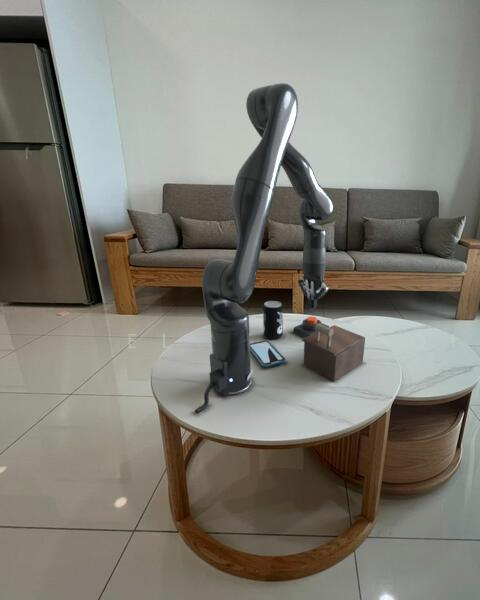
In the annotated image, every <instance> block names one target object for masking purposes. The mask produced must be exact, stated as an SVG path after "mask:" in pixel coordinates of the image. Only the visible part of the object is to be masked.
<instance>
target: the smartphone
mask: <svg viewBox="0 0 480 600" xmlns="http://www.w3.org/2000/svg"><path fill="white" fill-rule="evenodd" d="M250 353H251V354H252V355H253V356H254V358H255V359H256V360H257V361H258V363H259V364H260V365H261V366H262V367H263V368H269V367H274V366H277V365H280V364H284V363H286V361H287V360H286V357H285V356H284V355H282V353H281V352H280V351H278V349H277V348H276V347H275V346H274V345H273V344H272V343H271V342H270V341H269V340H268V339H267V340H260V341H256V342H250Z"/></svg>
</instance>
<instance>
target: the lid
mask: <svg viewBox="0 0 480 600" xmlns="http://www.w3.org/2000/svg"><path fill="white" fill-rule="evenodd" d="M315 330H316V331H317V333H314V334H312V335H310V336H307V337H305V338H304V337H302V339H301V341H302V343H304V342H305V343H307V344H310V345H312V346H314V347H316V348H318V349H320V350H322V351H324V352H326V353H328V354H330V355H333V356H335V355H337V354H339V353H341V352H343V351H345V350H347V349H349V348H351V347H352V346H354V345H356V344H358V343H360V342H362V341H364V340H365V341H366V337H365V336H363V335H360V334H358V333H355V332H352V331H350V330H347V329H345V328H343V327H340V326H338V325H335V324H334V325H331V326H329V328H328V327H325V326H323V325H320V324H316V326H315Z"/></svg>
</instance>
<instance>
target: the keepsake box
mask: <svg viewBox="0 0 480 600" xmlns="http://www.w3.org/2000/svg"><path fill="white" fill-rule="evenodd" d="M365 344H366V339H365V340H364V341H362V342H360V343H358V344H356V345H354V346H352V347H351V348H349V349H347V350H345V351H343V352H341V353H339V354H337V355H335V356H333V355H330V354H328V353H326V352H324V351H322V350H320V349H318V348H316V347H314V346H312V345H310V344H307V343H305V342H303V366H305V367H306V368H309V369H310V370H312V371H314V372H316V373H317V374H320V375H321V376H323V377H325V378H326V379H328V380H330V381H332V382H336V381H338V380H339V379H341V378H342V377H344V376H345V375H347V374H349V373H350V372H351V371H353V370H355V369H356V368H358V367H359V366H361V365H362V364H363V362H364V353H365V346H366V345H365Z"/></svg>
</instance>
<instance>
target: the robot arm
mask: <svg viewBox="0 0 480 600" xmlns="http://www.w3.org/2000/svg"><path fill="white" fill-rule="evenodd" d="M298 102H299V101H298V95H297V92H296V90H295V89H294V87H293V86H291V84H289V83H284V82H282V83H281V82H280V83H273V84H270V85H265V86H260V87H257V88H253V89H252V90H251V91H250V92H249V93H248V95H247V97H246V103H245V104H246V112H247V115H248V119H249V120H250V123H251V125H252V126H253V127H254V128H253V129H255V131H256V132H257V134H258V135H259V136H260V137H261V139H260V141H259V143H258V144H257V145H256V147H255V148H254V149H253V151H252V152H251V153H250V155H248V157H247V158H246V160H245V161H244V163H242V165H241V166H240V169H239V170H238V172H237V175H236V178H235V181H234V185H233V189H232V193H231V197H230V209H231V214H232V217H233V220H234V224H235V228H236V232H237V233H236V234H237V244H236V249H235V255H234V258H233V260H229V259H222V258H215V259H212V260H210V261H208V263H207V264H206V265H205V266H204V269H203V271H202V277H201V289H202V296H203V302H204V309H205V315H206V317H207V319H208V321H209V326H210V335H211V336H210V338H211V348H212V350H211V351H212V353H209V366H210V372H209V373H208V375H209V385H208V387H206V389H205V391H204V394H203V400H204V401H203V404H202V405H200V406H199V407H197V408H195V410H194V412H195V413H196V414H199V413H201V412H203V411H204V410H205V409H206V408H207V407H208V405H209V401H210V399H209V396H210V392H211V391H212V389H213V388H214V390H216V391H217V392H218V393H220V394H221V395H222V396H223V397H228V396H234V395H239V394H243V392H246V391H247V390H249V389H250V387H251V386H252V375H253V373H254V370H253V369H254V368H253V369H252V367H251V351H250V343H251V342H250V340H251V339H250V316H249V313H248V312H247V310H246V309H244V308H243V307H242V306H240V304H243V303H246V302H247V301H248V300H249V299H250V298H251V295H252V294H253V291H254V288H255V285H256V281H257V274H258V269H259V262H260V257H261V250H262V249H261V248H262V243H263V239H264V234H265V230H266V225H267V221H268V217H269V214H270V211H271V208H272V207H271V206H272V204H273V199H274V196H275V190H276V186H277V182H278V178H279V174H280V170H281V168H282V170H284V173H285V174H286V176H287V178H288V180H289V182H290V184H291V186H292V188H293V191H294V192H295V194H296V195H297V197H298V198H300V199H301V201H300V203H299V208H298V211H299V218H300V222H301V226H302V230H303V249H302V250H303V251H302V274H303V275H302V278H301V279H298V280H297V283H298V286H299V287H300V290H301V293H302V294H303V296H305V297H306V298H307V307H308V309H309V310H312V311H313V310H315V309H316V308H317V306H318V300H320V299H322V298H323V297H324V296H325V295H326V294H327V293H328V291H329V290H330V286H329V285H326V283H325V278H324V277H325V274H326V260H327V252H326V246H327V245H326V244H327V231H326V230H325V229H324V228H323V227H320V226H318V224H317V221H322V222H325V221H328V220H330V218H332V215H333V213H334V205H333V201H332V199H331V198H330V195H328V193H327V192H326V191H325V190H324V188H323V187H322V186H321V185H320V183H319V182H318V180H317V177H316V175H315V172H314V170H313V168H312V166H311V164H310V162H309V161H308V160H307V158H306V157H305V156H304V155H303V154H302V153H301V152H300V151H299V150H298V149H297V148H295V146H294V145H293V144H292V143H290V139H291V138H292V137H291V136H292V134H293V131H294V128H295V125H296V122H297V118H298V112H299V103H298Z"/></svg>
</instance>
